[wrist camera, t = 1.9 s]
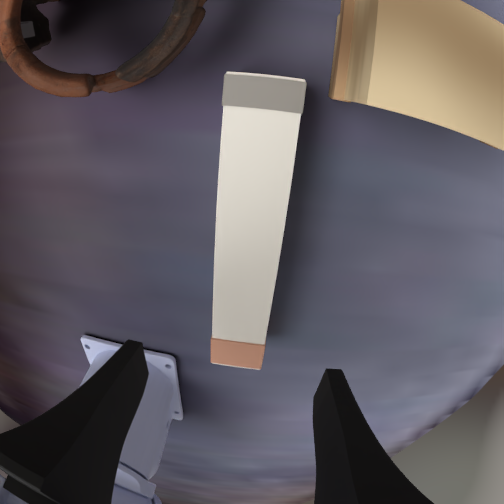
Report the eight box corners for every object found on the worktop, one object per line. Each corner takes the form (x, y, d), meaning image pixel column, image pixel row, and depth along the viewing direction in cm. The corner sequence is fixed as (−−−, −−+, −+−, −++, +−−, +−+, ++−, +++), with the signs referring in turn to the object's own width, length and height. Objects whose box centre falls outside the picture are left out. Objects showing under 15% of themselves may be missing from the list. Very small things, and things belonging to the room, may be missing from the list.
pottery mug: (179, -97, 7) (199, -143, 2) (213, 34, 15) (249, 77, 10) (-18, -3, 7) (-102, 35, 2) (36, 109, 15) (-9, 190, 10)
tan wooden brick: (458, 132, 12) (542, 171, 7) (320, 96, 12) (352, 103, 7) (469, 59, 10) (557, 63, 4) (329, 14, 10) (366, -37, 5)
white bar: (263, 336, 20) (260, 371, 17) (218, 330, 20) (210, 364, 17) (301, 81, 12) (307, 79, 10) (235, 74, 12) (224, 71, 10)
